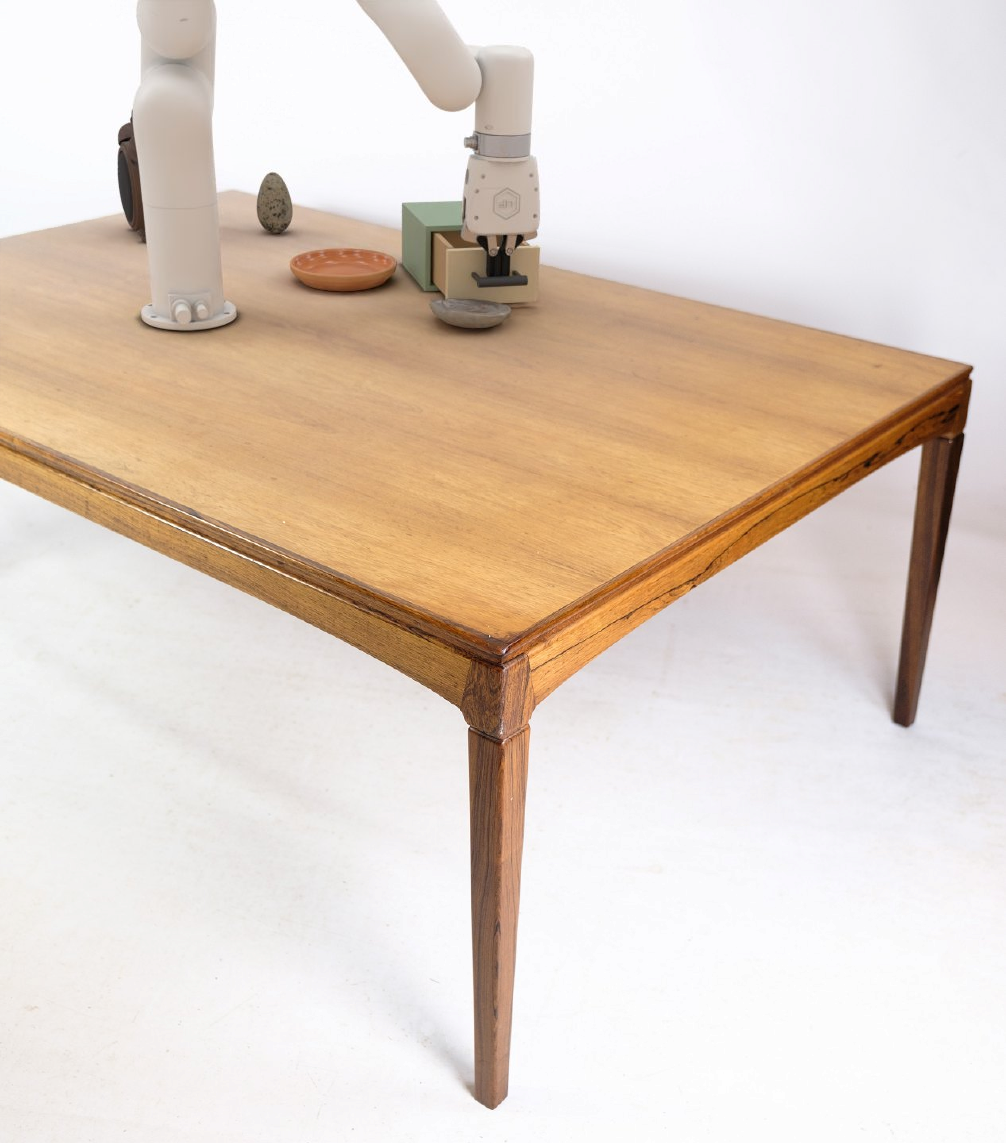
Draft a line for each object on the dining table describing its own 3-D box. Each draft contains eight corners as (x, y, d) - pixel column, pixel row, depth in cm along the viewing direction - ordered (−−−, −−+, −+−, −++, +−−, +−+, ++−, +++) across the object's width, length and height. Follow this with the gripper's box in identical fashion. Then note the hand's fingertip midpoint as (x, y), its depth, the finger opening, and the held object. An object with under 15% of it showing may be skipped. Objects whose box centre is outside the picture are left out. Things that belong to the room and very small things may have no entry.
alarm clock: (117, 227, 219) (104, 103, 210) (160, 224, 222) (149, 101, 212) (134, 247, 207) (121, 117, 198) (179, 244, 210) (168, 115, 201)
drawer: (548, 311, 181) (551, 256, 178) (456, 316, 178) (457, 260, 174) (508, 274, 198) (510, 223, 194) (423, 278, 194) (423, 226, 190)
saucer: (281, 292, 188) (280, 272, 187) (300, 264, 202) (299, 245, 201) (391, 297, 188) (391, 277, 186) (402, 268, 202) (401, 249, 201)
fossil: (472, 313, 185) (473, 293, 184) (523, 330, 177) (525, 310, 176) (412, 318, 179) (413, 298, 178) (463, 337, 171) (464, 315, 170)
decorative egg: (300, 233, 220) (298, 172, 215) (274, 238, 216) (271, 177, 211) (277, 226, 223) (274, 167, 218) (250, 232, 219) (247, 171, 214)
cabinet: (519, 287, 195) (521, 223, 191) (425, 291, 191) (425, 226, 187) (490, 260, 208) (492, 200, 204) (401, 264, 204) (401, 202, 200)
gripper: (455, 152, 167) (452, 291, 175) (564, 150, 171) (556, 287, 179) (440, 141, 173) (439, 277, 182) (546, 140, 177) (539, 272, 186)
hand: (497, 281), depth 180 cm, fingers closed
